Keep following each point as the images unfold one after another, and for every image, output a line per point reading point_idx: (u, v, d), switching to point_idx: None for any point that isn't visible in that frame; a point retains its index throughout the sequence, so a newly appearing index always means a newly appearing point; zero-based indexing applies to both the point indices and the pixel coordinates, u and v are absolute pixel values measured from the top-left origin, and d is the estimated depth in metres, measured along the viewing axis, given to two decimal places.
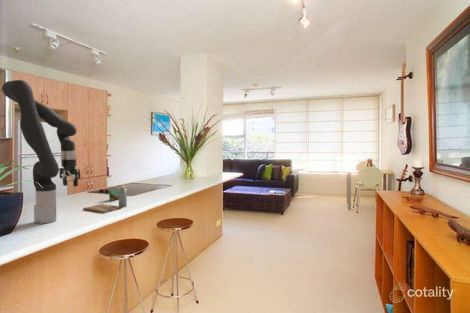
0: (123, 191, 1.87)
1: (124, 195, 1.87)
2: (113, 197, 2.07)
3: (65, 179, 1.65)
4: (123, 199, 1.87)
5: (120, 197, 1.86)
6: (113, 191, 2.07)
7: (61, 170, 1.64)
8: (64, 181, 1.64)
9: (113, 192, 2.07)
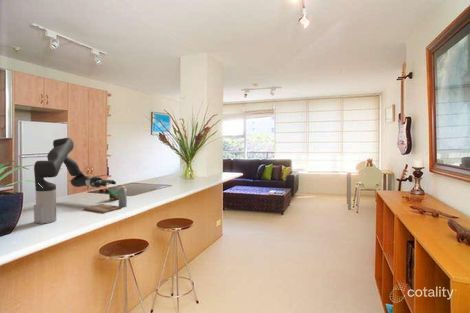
0: (123, 191, 1.87)
1: (124, 195, 1.87)
2: (113, 197, 2.07)
3: None
4: (123, 199, 1.87)
5: (120, 197, 1.86)
6: (113, 191, 2.07)
7: None
8: None
9: (113, 192, 2.07)
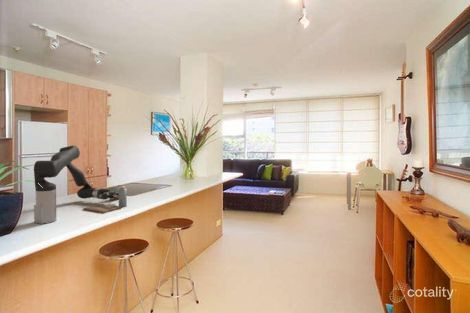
0: (123, 191, 1.87)
1: (124, 195, 1.87)
2: None
3: None
4: (123, 199, 1.87)
5: (120, 197, 1.86)
6: (113, 191, 2.07)
7: None
8: None
9: None
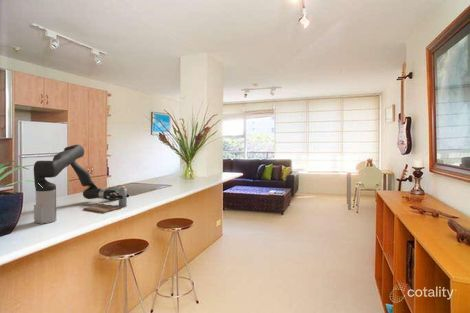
0: (123, 191, 1.87)
1: (124, 195, 1.87)
2: None
3: None
4: (123, 199, 1.87)
5: None
6: None
7: None
8: None
9: None
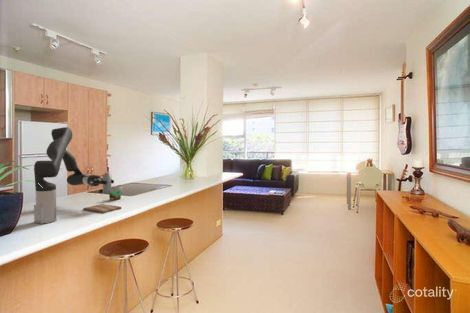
0: (107, 176, 1.79)
1: (108, 181, 1.79)
2: (113, 197, 2.07)
3: None
4: (107, 185, 1.79)
5: None
6: (113, 191, 2.07)
7: None
8: None
9: (113, 192, 2.07)
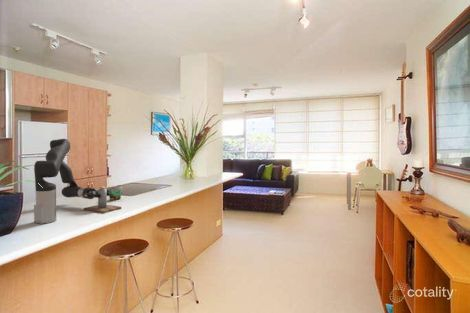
0: (103, 191, 1.78)
1: (104, 196, 1.78)
2: (113, 197, 2.07)
3: None
4: (103, 200, 1.78)
5: (99, 198, 1.77)
6: (113, 191, 2.07)
7: None
8: None
9: (113, 192, 2.07)
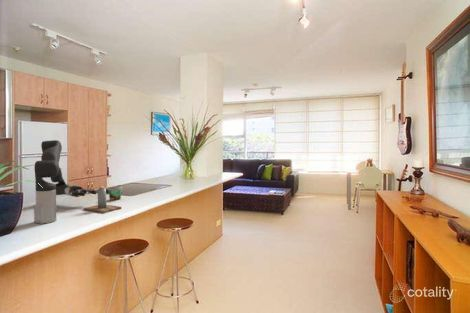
0: (102, 191, 1.78)
1: (103, 195, 1.78)
2: (113, 197, 2.07)
3: None
4: (102, 200, 1.78)
5: (99, 198, 1.77)
6: (113, 191, 2.07)
7: None
8: None
9: (113, 192, 2.07)
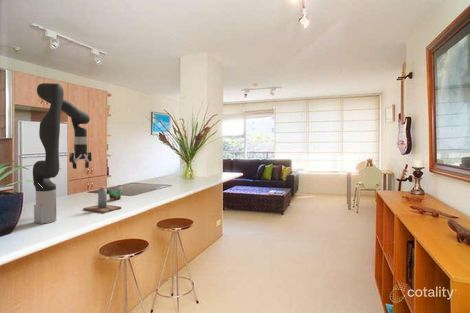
0: (103, 191, 1.77)
1: (104, 196, 1.78)
2: (113, 197, 2.07)
3: None
4: (102, 200, 1.78)
5: (99, 198, 1.77)
6: (113, 191, 2.07)
7: (73, 154, 1.77)
8: None
9: (113, 192, 2.07)
